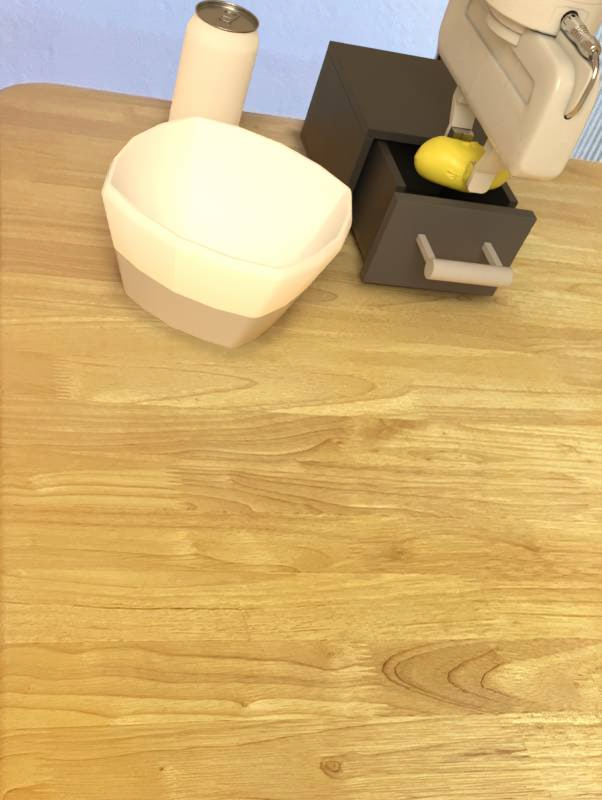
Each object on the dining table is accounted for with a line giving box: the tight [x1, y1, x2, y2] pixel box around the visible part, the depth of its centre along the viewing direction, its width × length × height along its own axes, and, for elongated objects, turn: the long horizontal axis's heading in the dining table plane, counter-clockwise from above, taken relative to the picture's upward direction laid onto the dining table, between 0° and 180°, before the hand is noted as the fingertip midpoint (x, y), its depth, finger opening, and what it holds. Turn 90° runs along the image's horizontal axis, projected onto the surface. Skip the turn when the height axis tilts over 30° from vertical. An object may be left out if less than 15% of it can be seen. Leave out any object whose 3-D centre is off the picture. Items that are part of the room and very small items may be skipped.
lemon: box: [414, 136, 511, 193], centre depth 72 cm, size 4×8×4 cm, turn 82°
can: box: [167, 0, 260, 127], centre depth 80 cm, size 6×6×12 cm
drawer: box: [351, 138, 538, 297], centre depth 76 cm, size 20×12×8 cm, turn 7°
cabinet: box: [299, 40, 488, 230], centre depth 83 cm, size 16×14×10 cm
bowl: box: [100, 115, 352, 349], centre depth 67 cm, size 18×18×9 cm
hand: (462, 168), depth 72 cm, fingers closed on lemon, 4 cm apart
